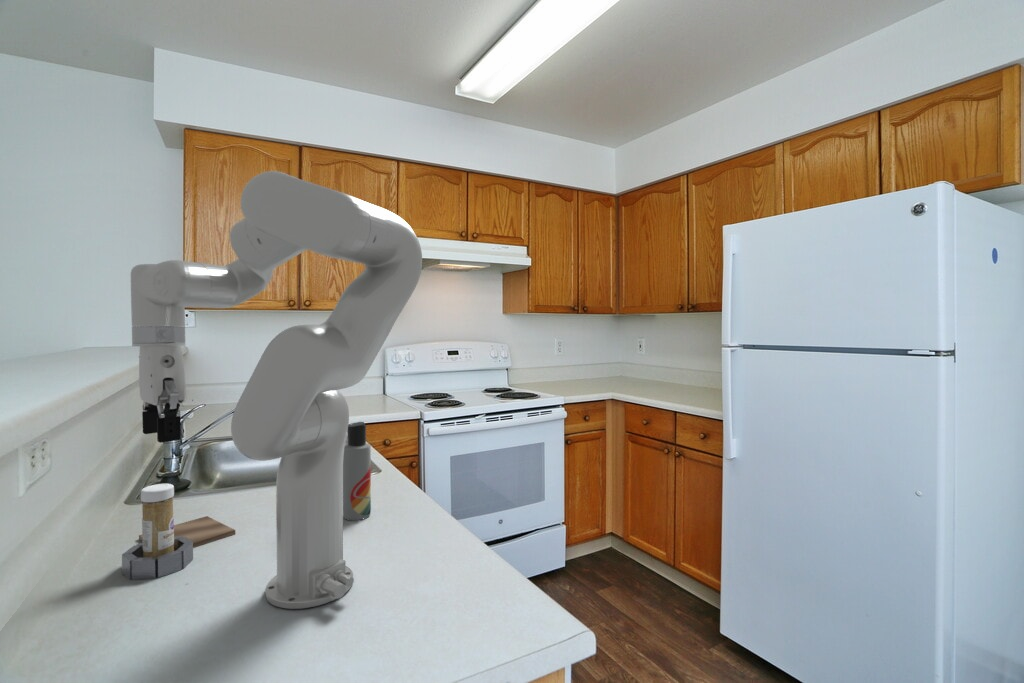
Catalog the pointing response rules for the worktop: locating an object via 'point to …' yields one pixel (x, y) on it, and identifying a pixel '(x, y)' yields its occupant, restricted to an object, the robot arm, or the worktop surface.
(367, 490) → the lotion bottle
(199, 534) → the walnut board
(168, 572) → the grey segmented ring
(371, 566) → the worktop surface
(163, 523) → the sprinkles bottle
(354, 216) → the robot arm
